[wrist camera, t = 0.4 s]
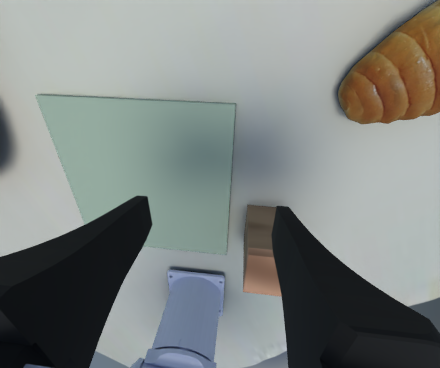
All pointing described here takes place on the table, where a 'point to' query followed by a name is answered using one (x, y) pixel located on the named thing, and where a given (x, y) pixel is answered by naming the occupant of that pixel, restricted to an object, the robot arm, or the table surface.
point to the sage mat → (149, 162)
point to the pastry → (397, 74)
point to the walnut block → (259, 252)
